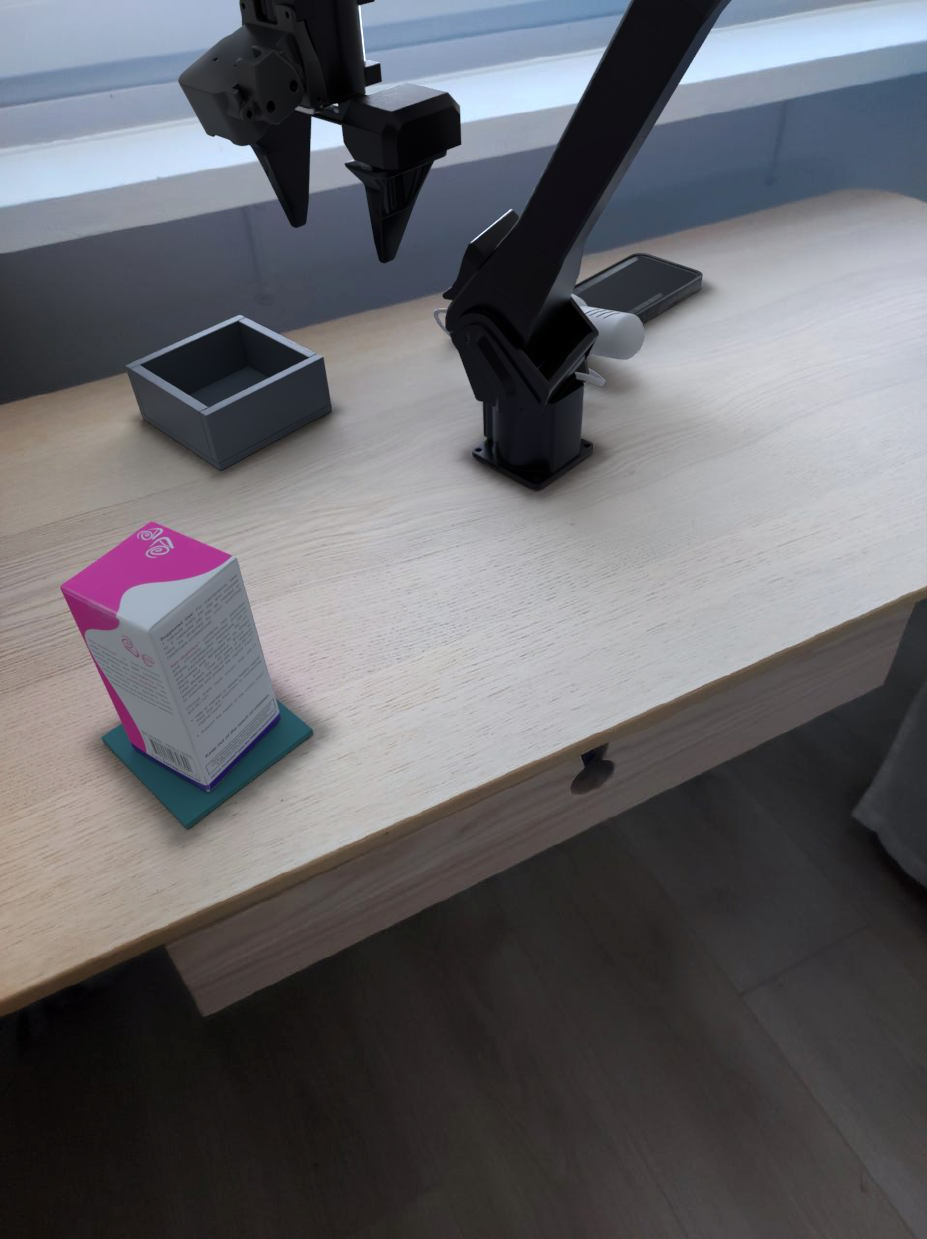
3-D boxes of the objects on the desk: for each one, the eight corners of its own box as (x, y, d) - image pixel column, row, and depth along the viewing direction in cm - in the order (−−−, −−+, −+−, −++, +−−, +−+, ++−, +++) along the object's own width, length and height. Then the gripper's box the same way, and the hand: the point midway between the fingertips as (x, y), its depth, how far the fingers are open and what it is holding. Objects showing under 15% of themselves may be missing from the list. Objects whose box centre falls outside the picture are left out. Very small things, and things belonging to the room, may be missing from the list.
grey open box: (332, 410, 71) (324, 356, 68) (220, 471, 66) (205, 416, 62) (251, 365, 76) (239, 314, 73) (142, 418, 71) (124, 365, 68)
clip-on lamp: (415, 386, 78) (562, 428, 66) (393, 316, 75) (545, 347, 62) (511, 327, 83) (666, 355, 70) (495, 258, 79) (656, 275, 67)
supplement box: (286, 716, 49) (241, 555, 41) (209, 796, 45) (143, 637, 37) (207, 675, 51) (150, 515, 43) (128, 748, 48) (49, 588, 39)
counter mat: (313, 733, 48) (312, 729, 48) (187, 829, 44) (185, 825, 44) (226, 659, 52) (224, 654, 52) (103, 741, 48) (100, 736, 48)
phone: (534, 306, 79) (638, 250, 86) (534, 318, 80) (637, 261, 87) (605, 334, 75) (709, 273, 82) (604, 347, 76) (707, 285, 83)
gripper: (89, -30, 51) (164, 245, 62) (295, 14, 42) (340, 329, 53) (249, -61, 57) (291, 197, 68) (462, -29, 47) (472, 265, 58)
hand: (341, 243), depth 62 cm, fingers open, 9 cm apart
